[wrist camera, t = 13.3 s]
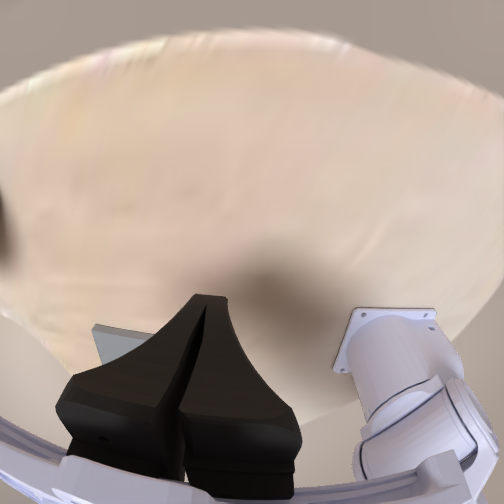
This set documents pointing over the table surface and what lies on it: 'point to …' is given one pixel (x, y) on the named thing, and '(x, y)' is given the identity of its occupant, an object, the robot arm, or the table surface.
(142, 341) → the base plate
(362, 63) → the table surface
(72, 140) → the table surface
